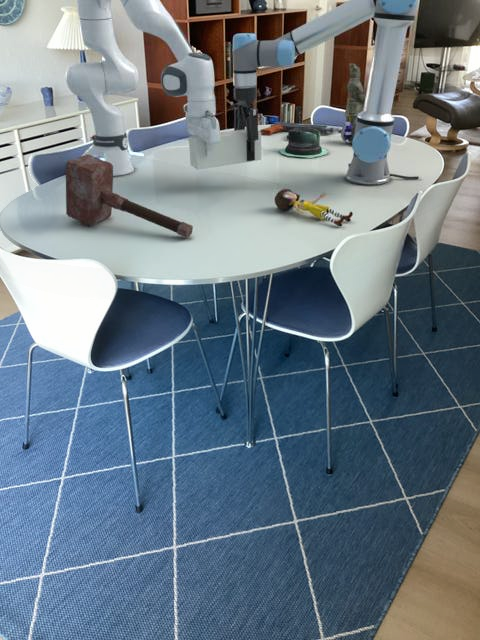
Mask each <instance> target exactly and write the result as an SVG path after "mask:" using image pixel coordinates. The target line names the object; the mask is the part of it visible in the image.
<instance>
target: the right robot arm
mask: <svg viewBox="0 0 480 640" xmlns="http://www.w3.org/2000/svg"><path fill="white" fill-rule="evenodd" d="M418 3H419V0H348V1H345V2H344V3H342V4H340V5H338V6H336V7H334V8H332V9H330V10H329V11H327V12H325V13H323V14H321V15H319V16H317V17H316V18H314V19H312V20H310V21H308V22H306V23H304V24H302V25H301V26H299V27H297V28H294V29H292V31H290V32H287V33H286V34H284V35H281V36H280V37H278V38H276V39H273V40H258V39H257V35H256V33H253V32H251V33H248V32H244V33H243V32H242V33H236V34H234V35H233V37H232V49H231V51H232V65H233V66H232V68H233V73H232V81H233V83H232V84H233V87H234V88H233V100H234V101H237V103H233V116H234V117H233V119H234V120H233V131H236V130H243V129H246V131H247V137H248V140H246V142H247V161H251V162H253V161H252V160H255V141H256V140H258V131H259V121H258V120H259V117H258V116H259V108H255V107H254V101H256V100H257V98H258V94H257V93H258V92H257V91H258V88H257V87H256V86H257V78H258V74H257V69H258V68H261V67H263V68H282V69H283V68H288V67H289V68H290V67H292V66H293V65H294V63H295V58H296V57H298V56H300V55H302V54H303V53H306V52H307V51H310V50H311V49H313V48H315V47H318V46H320V45H322V44H323V43H325V42H327V41H329V40H331V39H333V38H335V37H337V36H339V35H341V34H343V33H345V32H347V31H349V30H351V29H353V28H355V27H357V26H360V25H361V24H363V23H365V22H367V21H369V20H371V19H372V18H373V20H374V21H375V23H376V25H377V27H376V34H375V40H374V44H373V50H372V57H371V63H370V68H369V74H368V80H367V86H366V91H365V96H366V97H365V103H364V104H363V108H362V112H360V113H358V114H357V118H356V128H355V134H354V138H353V142H351V144H352V145H351V146H352V150H353V155H352V159H351V162H350V163H347V167H348V168H347V172H346V181H348V182H349V183H352V184H357V185H363V186H377V185H383V184H386V183H389V182H390V179H391V177H392V178H393V177H394V178H399V179H405V180H419V178H420V177H419V175H418V176H417V175H416V176H405V175H401V174H395V173H391V172H390V168H389V162H388V153H389V151H390V148H391V146H392V143H391V139H392V134H393V130H394V129H393V128H394V124H395V117H394V116H393V114H392V108H393V104H394V99H395V93H396V87H397V83H398V77H399V72H400V68H401V62H402V57H403V52H404V48H405V47H404V46H405V43H406V37H407V31H408V28H409V27H410V26H411V25H412V24H413V23H414V22H415V18H416V13H417V8H418Z"/></svg>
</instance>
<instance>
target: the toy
mask: <svg viewBox="0 0 480 640" xmlns="http://www.w3.org/2000/svg"><path fill="white" fill-rule="evenodd" d="M355 128H356V124H355V125H354V127H352V124H350V122H346V121H345V122H344V123H343V126H342V128H341V129H339V130H338V134H340V137H341V139H342V141H343V142H346V141H348V142H349V143H352V142H353V138H354V134H355Z"/></svg>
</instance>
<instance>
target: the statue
mask: <svg viewBox="0 0 480 640" xmlns="http://www.w3.org/2000/svg"><path fill="white" fill-rule="evenodd" d="M348 70H349V73H350V75H349V76H350V78H349V81H348V82H347V85H346V90H347V98H346V99H347V100H346V101H347V102H346V106H345V112H344V115H345V123H346V122H350V124H352V127H354V125H355V124H356V118H357V114H358V113H360V112H362V111H363V109H364V103H365V97H366V94H365V91H364V86H363V84H362V82H361V68H360V67H359V66H358V65H357V64H356V63H351V62H350V63H348Z"/></svg>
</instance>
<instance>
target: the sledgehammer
mask: <svg viewBox="0 0 480 640" xmlns="http://www.w3.org/2000/svg"><path fill="white" fill-rule="evenodd" d="M81 156H82V155H81ZM81 156H79V157H76V158H73V159H71V160H68V161H67V162H65V208H66V210H65V211H66V212H65V213H66V216H68V218H71V219H72V220H76V221H78V222H80V223H82V224H84V225H87V226H89V227H93V226H95V225H97V224H99V223H101V222H103V221H105V220H106V219H109V218H111V216H112V211H113V209H115V210H119V211H121V212H126V213H128V214H131V215H133V216H134V217H137V218H140V219H142V220H145V221H147V222H149V223H151V224H155V225H157V226H160V227H162V228H164V229H167V230H169V231H171V232H174V233H176V234H177V235H178V236H181V237H183V238H186V239H189V238H190V236H191V235H192V233H193V227H194V226H193V225H192V224H189V223H186V222H184V221H180V220H177V219H174V218H172V217H170V216H168V215H164V214H162V213H159V212H157V211H155V210H153V209H150V208H148V207H146V206H143V205H141V204H138V203H135V202H133V201H131V200H129V199H128V198H126V197H124V196H121V195H120V194H118V193H115V192H114V191H113V190H114V189H113V188H114V176H113V165H112V164H111V163H109V162H107V161H104V160H101V159H99V158H96V157H94V156H91V155H89V154H87V155H84V156H82V157H81Z"/></svg>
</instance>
